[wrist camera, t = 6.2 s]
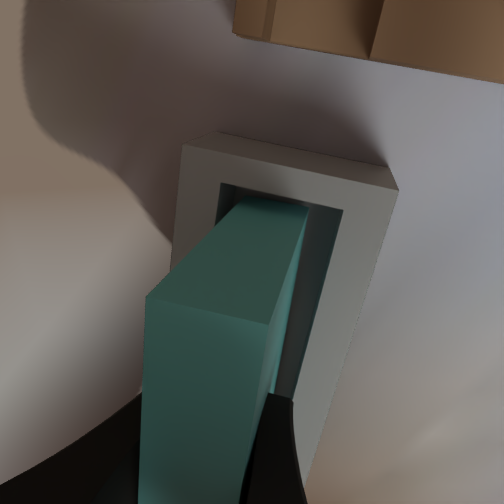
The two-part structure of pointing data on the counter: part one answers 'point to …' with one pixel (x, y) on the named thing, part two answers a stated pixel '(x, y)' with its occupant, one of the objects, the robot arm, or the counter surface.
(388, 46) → the rack
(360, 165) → the stand
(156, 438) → the board
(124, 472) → the robot arm
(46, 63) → the counter surface
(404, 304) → the counter surface
